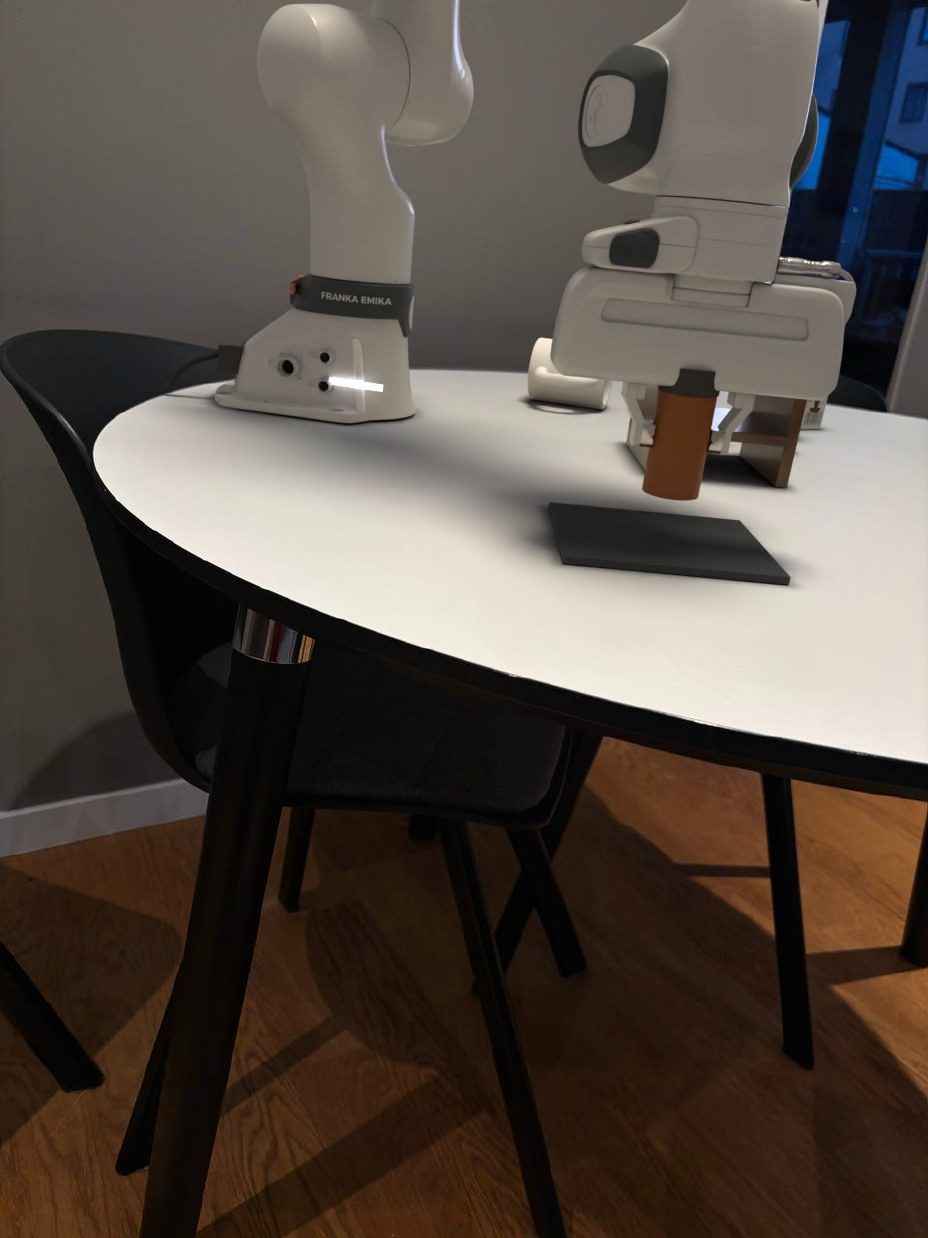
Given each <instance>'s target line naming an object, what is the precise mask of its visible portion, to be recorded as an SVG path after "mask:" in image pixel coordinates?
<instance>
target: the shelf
mask: <svg viewBox="0 0 928 1238" xmlns="http://www.w3.org/2000/svg"><path fill="white" fill-rule="evenodd" d="M657 387H658V385H653V384H647V389H646V394H645V398H644V399H638V398H637V399H636V400H637V402H638V405H639V407H640V410H641V413H642V415H643V418H644V420H652V421H653V419H654V413H655V407H656V401H657V395H658V388H657ZM806 402H807V399H796V398H786V397H776V396H766V395H756V396H755V401H754V406H753V410H752V412H751V413H750V414H749V415H748V416H747V418H746V419H745V420H744V421H743V422H742V423H741V425H740V426H739V427H738V428H737V429H736V430H735V432H732V436H731V441H730V443H731V442H732V443H740V444H741V445H740V449H739V456H740V457H741V458H742V459H743V460H744V461H745V462H746V463H747V464H749V465H750V466H751V467H753V469H755V470H756V471H757V472H758V473H759V474H760V475H761V476H763V477H764V478H765V479H766V480H767V481H768V482H769V483H771V485H773V487H775V488H781V489H784V488H785V489H787V488H788V485H789V480H790V477H791V472H792V467H793V464H794V460H795V455H796V450H797V445H798V442H799V437H800V433H801V430H800V429H801V424H802V420H803V415H804V411H805V407H806ZM730 410H731V408H725V407H715V412H714V417H713V423H712V426H717V427H718V425H719V424H720V422H721V421H722V420H723V419H724V417H725V416H726V415H727V413H728V412H729V411H730ZM631 426H632V419H631V417H630V416H629V422H628V429H627V434H626V435H627V436H626V441H625V444H626V446H627V447H628V449H629V451H630V453H632V455H633V456H634V458H635V459H636V461H637V462H638V464H639V465H640V466H641V468H642V469H643V471H644V472H645V467H646V461H647V455H648V449H649V448H647V447H635V446H631V444H630V432H631Z"/></svg>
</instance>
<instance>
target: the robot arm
mask: <svg viewBox="0 0 928 1238" xmlns="http://www.w3.org/2000/svg"><path fill="white" fill-rule="evenodd" d="M460 9H461V0H372V8H371V12H370V15H368V14H364V13H360V12H358V11H354V10H352V9H348V8H344V7H341V6H338V5H336V4H335V5H334V4H331V3H292V4H286V5H283V6H281V7H280V8H278V9H277V10H276V11H275V12H274V13H273V14H272V15H271V16H270V17H269V19H268V20H267V22H266V24H265V25H264V28H263V30H262V32H261V34H260V37H259V40H258V44H257V50H256V58H255V60H256V61H255V62H256V63H255V64H256V74H257V79H258V83H259V86H260V89H261V92H262V94H263V97H264V99H265V100H266V102H267V104H268V106H269V107H270V108H271V109H272V110H273V111H274V113H276V115H277V116H278V118H279V119H280V120H281V121H282V122H283V124H284V126H285V127H286V129H287V131H288V132H289V134H290V137H291V139H292V141H293V144H294V145H295V147H296V150H297V153H298V155H299V158H300V161H301V162H300V163H301V165H302V167H303V171H304V176H305V180H306V185H307V191H308V199H309V212H310V213H309V219H310V220H309V224H310V225H309V226H310V229H309V233H310V234H309V238H310V239H309V240H310V241H309V273H307V274H299V275H297V276H295V277H294V278H292V280H291V282H290V284H289V305H291V306H292V308H290V309H289V310H287V311H286V312H284V313H283V314H281V315H280V316H279V317H277V318H276V319H275V320H273V321H272V322H270V323H269V324H267V325H266V326H264V328H262V329H261V330H259V331H258V332H256V333H255V334H254V335H253V336H252V337H250V338H249V339H248V340H244V339H237V338H223V339H222V340H221V341H220V342H219V344H218V345H217V350H213V351H210V352H206V353H202V354H199V355H198V354H197V355H195V356H193V357H191V358H189V359H187V360H185V361H184V362H182V363H181V364H180V365H178V367H177V368H176V369H175V370H174V371H173V373H172V375H171V376H170V377H169V380H168V382H167V383H166V385H165V386H164V389H166V390H167V391H168V392H170V393H171V392H172V391H173V390H174V388H175V387H176V384H177V383H178V381H179V380H180V378H181V377H182V375H183V374H184V373H185V372H186V371H187V370H189V369H190V368H191V367H193V366H195V365H197V364H200V363H204V362H208V361H212V360H215V359H217V368H218V369H217V372H218V373H220V374H229V375H230V374H231V375H235V379H234V380H231V381H229V382H226V383H223V384H221V385H220V386H218V387H217V388H216V390H215V392H214V394H215V395H214V401H215V403H216V404H218V405H219V406H222V407H227V408H233V409H241V410H247V411H253V412H254V411H255V412H262V413H270V414H276V415H283V416H290V417H298V418H306V419H312V420H319V421H327V422H333V423H334V422H335V423H340V424H341V423H342V424H355V423H356V424H357V423H361V422H367V421H383V420H384V421H386V420H397V419H403V418H407V417H411V416H413V415H414V414H416V408H415V403H414V398H413V391H412V384H411V377H410V363H409V362H410V360H409V359H410V358H409V337H410V335H411V331H412V330H413V323H414V322H413V320H414V307H415V295H414V294H415V293H414V291H415V289H414V285H413V284H412V283H411V279H412V266H413V265H412V263H413V251H414V238H415V237H414V236H415V223H416V222H415V221H416V213H415V209H414V206H413V202H412V200H411V199H410V197H409V195H408V194H407V193H406V192H405V191H404V190H403V189H402V188H401V187H400V186H399V184H398V182H397V180H396V179H395V176H394V174H393V171H392V168H391V165H390V161H389V157H388V151H387V144H391V145H392V144H393V145H399V146H404V147H411V148H412V147H422V146H430V145H436V144H441V143H445V142H448V141H450V140H452V139H453V138H454V137H456V136H457V135H458V134H459V133H460V132H461V130H462V129H463V128H464V126H465V125H466V122H467V120H468V118H469V117H470V113H471V110H472V107H473V101H474V80H473V75H472V71H471V69H470V67H469V64H468V62H467V60H466V57H465V55H464V50H463V46H462V39H461V24H460V23H461V22H460V21H461V19H460V15H461V14H460V13H461V12H460V11H461V10H460ZM819 33H820V19H819V8H818V2H817V0H686V2H685V4H684V6H683V7H682V8H681V10H680V11H678V13H677V14H675V16H674V17H673V18H671V19H670V20H668V21H667V22H666V23H665V24H663V25H662V26H661V27H659V28H658V29H657V30H655V31H653V32H652V33H651V34H649V35H648V36H646V37H644V38H643V39H641V40H639V41H637V42H636V43H633V44H631V43H627V44H623V45H621V46H619V47H618V48H616V49H615V50H613V51H612V52H611V53H609V54H608V55H607V56H606V57H605V58H604V59H603V60H602V61H601V62H600V63H599V64H598V66H597V67H596V68H595V69H594V71H593V72H592V74H591V75H590V77H589V78H588V80H587V82H586V84H585V87H584V89H583V93H582V97H581V101H580V107H579V112H578V122H577V136H578V143H579V147H580V151H581V154H582V157H583V160H584V162H585V164H586V166H587V168H588V170H589V172H590V173H591V174H592V176H593V177H594V178H595V179H596V180H597V181H598V182H599V183H601V184H603V185H607V186H609V187H610V188H614V189H617V190H620V191H625V192H631V193H637V194H645V195H654V196H655V197H654V204H653V209H652V213H651V214H650V218H646V219H641V220H640V219H628V220H626V221H623V222H622V224H618V225H614V226H608V227H604V228H600V229H595V230H593V231H590V232H588V233H587V234H585V236H584V238H583V240H582V246H581V257H582V260H583V261H584V262H585V263H586V264H588V265H587V266H584V267H582V268H580V269H579V270H577V271H576V272H575V273H574V274H573V275H572V276H571V277H570V279H569V281H568V282H567V284H566V286H565V289H564V292H563V295H562V298H561V300H560V305H559V308H558V312H557V316H556V319H555V323H554V329H553V334H552V338H551V339H552V345H551V353H550V358H551V362H552V364H553V365H554V367H555V368H556V369H557V371H558V372H559V373H560V374H561V375H564V376H572V377H582V378H592V379H602V380H612V381H613V382H622V386H621V394H620V395H621V396H622V399H623V402H624V404H625V407H626V409H627V412H628V415H629V418H630V417H631V419H632V426H631V432H630V444H631V446H635V447H647V448H652V446H653V441H654V440H653V438H652V436H653V435H654V434H655V429H656V424H654V423H653V421H652V420H644V418H643V415H642V413H641V410H640V407H639V405H638V402H637V400H636V399H637V398H638V399H644V398H645V394H646V389H647V384H653V385H663V386H672V385H674V384H675V383H676V381H677V379H678V377H679V371H680V369H681V368H682V369H692V370H703V371H713V372H716V374H715V379H714V383H715V390H717V391H720V392H727V398H726V402H727V404H728V405H730V406H731V408H730V409H731V410H730V411H729V412H728V413H727V415H726V416H725V417H724V419H723V420H722V421H721V422H720V424H719V425H718V427H717V426H712V428H711V433H710V438H709V444H708V449H707V454H712V455H719V456H727V455H728V453H729V451H730V450H729V449H730V446H731V442H730V441H731V436H732V432H735V430H736V429H737V428H738V427H739V426H740V425H741V423H742V422H743V421H744V420H745V419H746V418H747V416H748V415H749V414H750V413H751V412H752V410H753V406H754V401H755V396H756V395H766V396H776V397H786V398H796V399H807V400H817V401H821V400H823V399H825V398H826V397H827V396H828V397H829V395H830V394H832V392H834V391H835V389H836V388H837V385H838V381H839V377H840V370H841V366H842V365H841V363H842V359H843V357H842V356H843V348H844V337H845V329H844V325H845V324H846V325H847V322H848V321H849V319H850V318H851V316H852V312H853V308H854V305H855V299H856V296H857V286H856V281H855V280H854V277H853V276H852V275H851V274H850V272H848V271H846V270H845V269H843V268H842V265H841V264H840V263H838V262H834V261H830V260H828V261H827V260H821V261H814V260H809V259H808V260H807V259H805V258H804V259H803V258H799V257H790V256H780V254H781V253H780V252H781V250H782V249H781V248H782V244H783V238H784V235H785V229H786V224H787V219H788V214H789V209H790V204H791V203H790V202H791V197H790V196H791V195H790V191H792V189H794V187H796V184H797V183H799V181H800V180H801V178H802V177H803V175H804V174H805V173H806V171H807V170H808V167H809V165H810V164H811V161H812V159H813V156H814V154H815V151H816V148H817V143H818V136H819V125H820V124H819V121H820V120H819V111H818V105H817V100H816V97H815V93H814V83H815V78H816V77H815V76H816V68H817V60H818V52H819V51H818V50H819V49H818V48H819V40H820V39H819V36H820V34H819ZM386 143H387V144H386ZM839 277H843V279H844V280H840V279H838V278H839ZM846 325H845V326H846Z"/></svg>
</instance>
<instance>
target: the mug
mask: <svg viewBox="0 0 928 1238" xmlns="http://www.w3.org/2000/svg"><path fill="white" fill-rule="evenodd" d="M552 339H553V338H546V337H539V338H538V339H536V341H535V343H534V345H533V348H532V352H531V355H530V359H529V364H528V372H527V394H528V397H529V398H530V400H534V401H535V400H536V401H542V402H548V403H555V404H562V405H568V406H575V407H582V408H583V407H584V408H589V409H596V410H602V411H603V410H604V409H605V408H606V407H607V406H608V402H609V400H610V395H611V392H612V388H613V387H612V386H613V382H614V381H612V380H602V379H592V378H582V377H572V376H564V375H561V374H560V373H559V372H558V371H557V369H556V368H555V367H554V365H553V364H552V362H551V358H550V353H551V345H552Z"/></svg>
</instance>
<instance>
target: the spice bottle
mask: <svg viewBox="0 0 928 1238" xmlns="http://www.w3.org/2000/svg"><path fill="white" fill-rule="evenodd" d="M715 374H716V372H713V371H703V370H692V369H682V368H681V369H680V371H679V377H678V379H677V381H676V383H675V384H674V385H672V386H663V385H658V387H657V388H658V395H657V401H656V407H655V413H654V419H653V423H654V424H656V429H655V434H654V435H653V436H652V438H653V440H654V441H653V446H652V448H649V449H648V455H647V461H646V467H645V471H644V473H643V479H642V485H641V490H642V492H644V493H645V494H647V495H649V496H652V497H655V498H659V499H664V500H670V501H683V502H687V501H695V500H697V499H698V498H699V496H700V491H701V486H702V479H703V475H704V469H705V464H706V459H707V455H708V453H707V449H708V444H709V438H710V433H711V428H712V423H713V417H714V412H715V407H716V406H717V401H718V397H719V396H720V394H721V391H717V390H715V383H714V379H715Z"/></svg>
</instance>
